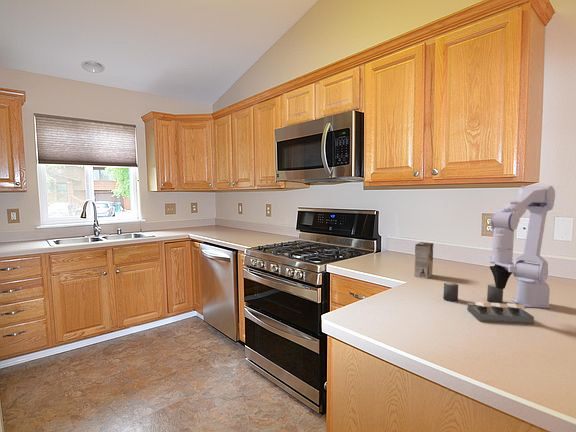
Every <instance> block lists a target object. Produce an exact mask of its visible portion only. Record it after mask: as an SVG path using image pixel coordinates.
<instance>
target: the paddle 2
mask: <svg viewBox="0 0 576 432" xmlns="http://www.w3.org/2000/svg"><path fill="white" fill-rule="evenodd" d="M506 304H508V307H513V308H521V309H525V308H526V307H524V305H522V304H517V303H509V302H507V303H506Z"/></svg>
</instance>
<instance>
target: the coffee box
mask: <svg viewBox="0 0 576 432" xmlns="http://www.w3.org/2000/svg"><path fill="white" fill-rule="evenodd" d="M434 244H435V243H434V242H424V241H420V242H418V243H416V244H415V245H414V246H415V248H414V277H415V278H421V279H429V278H430V277H431V276H432V275H433V269H434V268H433V267H434V266H433V263H434V262H433V260H434Z"/></svg>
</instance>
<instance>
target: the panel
mask: <svg viewBox="0 0 576 432" xmlns="http://www.w3.org/2000/svg"><path fill="white" fill-rule="evenodd" d="M523 309H524V308H513V307H508V308H504V307H496V306H491V307H483V306H479V305H476V303H470V302H468V303H467V309H466V310H467V311H468V313H469V314H471V315H472V317H474V318H475V319H476V320H477V321H478V322H481V323H497V324H498V323H499V324H500V323H501V324H502V323H503V324H519V325H520V324H522V325H534V322H535V317H534V316H533V314H531V313H528V312H527V311H525V310H523Z"/></svg>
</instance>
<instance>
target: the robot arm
mask: <svg viewBox="0 0 576 432" xmlns="http://www.w3.org/2000/svg"><path fill="white" fill-rule="evenodd" d="M517 191H518V192H517V198H516V199H515V200H510V201H509V202H508V203H507V204H506V205H505V206H504V207H503V208H502V209H501V210H500V211H495V212H493V213H492V215H491V216H490V217H491V218H490V220H489V221H490V222H489V225H490V227H491V228H490V229H491V234H493V235H492V251H491V252H492V253H491V256H488V260H487V263H489V264H493V265H490V266H489V269H490V271H491V273H492V275H493V281H494V284H495V285H496V288H498V289H503V290H505V288H506V286H507V283H508V281H509V278H510V277H511V275H513V277H515V280H516V292H515V293H516V296H515V298H514V297H513V298H510V300H511V301H512V302H514V303H515V304H522V305H524V307H525V308H526V307H527V308H545V309H546V308H547V309H550V308H551V307H550V306H549V305H550V292H551V291H550V286H549V284H548V283H547V282H546V281H547V279H548V277H549V262H548V261H547V260H546V259H544V258H543V257H542V255H541V250H542V243H543V238H544V232H545V225H546V219H547V214H548V212H549V211H551V210H553V208H554V206H555V200H556V190H555V187H553V186H552V185H547V186H546V185H544V186H543V185H537V186H533V185H532V186H531V185H527V186H526V185H522V186H520V188H519V189H518V190H517ZM527 210H528V211H529V217H528V218H529V219H528V225H527V229H526V231H527V232H526V237H525V243H524V249H523V253H522V254H520V255H517V256H516V257H515V258H514V261H513V257H514V255H513V254H514V241H515V240H514V238H515V230H516V229H518V226H519V223H520V219H521V218H522V217H523V215H525V214H526V211H527Z"/></svg>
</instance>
